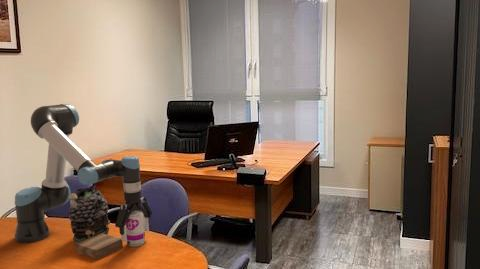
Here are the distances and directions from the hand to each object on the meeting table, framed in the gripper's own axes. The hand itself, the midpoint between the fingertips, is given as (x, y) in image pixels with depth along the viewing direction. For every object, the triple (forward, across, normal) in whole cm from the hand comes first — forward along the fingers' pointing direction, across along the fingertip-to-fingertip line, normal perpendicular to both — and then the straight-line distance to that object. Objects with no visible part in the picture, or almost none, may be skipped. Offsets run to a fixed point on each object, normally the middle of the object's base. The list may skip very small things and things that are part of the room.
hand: (135, 235), depth 193 cm
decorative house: (+4, -5, +25) cm, 26 cm away
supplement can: (+4, 0, 0) cm, 4 cm away
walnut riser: (+4, -13, +9) cm, 16 cm away
